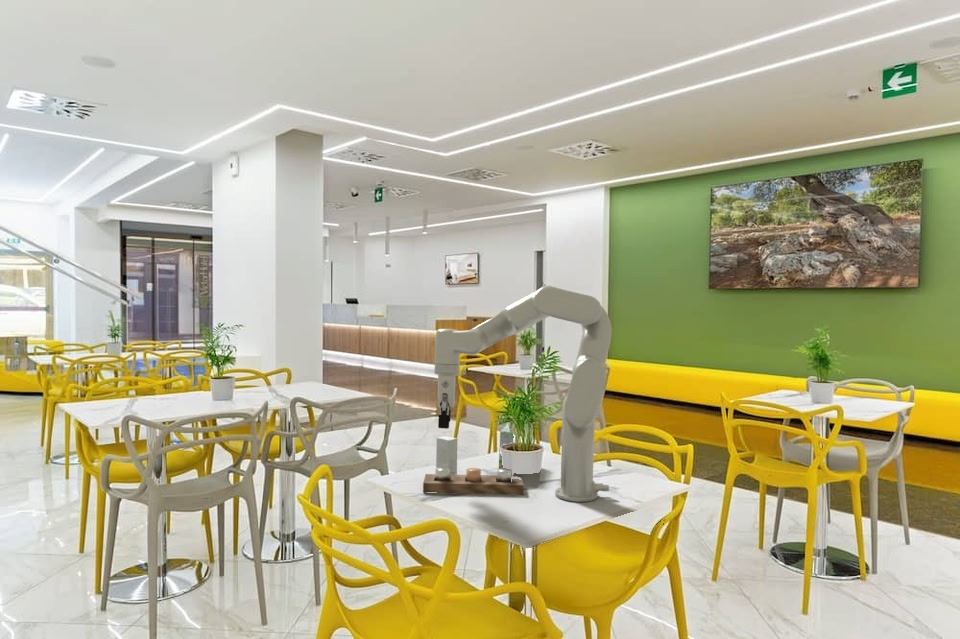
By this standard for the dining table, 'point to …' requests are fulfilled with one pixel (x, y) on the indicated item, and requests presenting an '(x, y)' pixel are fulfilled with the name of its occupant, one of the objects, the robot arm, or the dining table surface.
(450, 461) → the skincare box
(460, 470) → the dining table surface
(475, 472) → the peach knob
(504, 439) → the snack box
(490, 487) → the walnut mount
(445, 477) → the steel knob
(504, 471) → the steel knob
